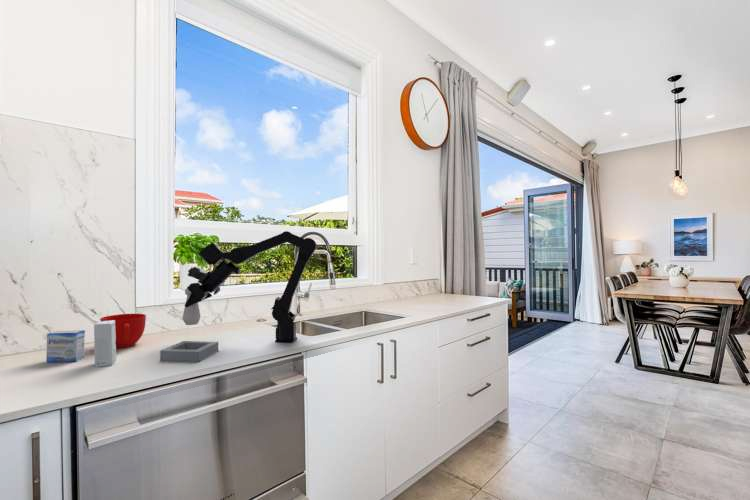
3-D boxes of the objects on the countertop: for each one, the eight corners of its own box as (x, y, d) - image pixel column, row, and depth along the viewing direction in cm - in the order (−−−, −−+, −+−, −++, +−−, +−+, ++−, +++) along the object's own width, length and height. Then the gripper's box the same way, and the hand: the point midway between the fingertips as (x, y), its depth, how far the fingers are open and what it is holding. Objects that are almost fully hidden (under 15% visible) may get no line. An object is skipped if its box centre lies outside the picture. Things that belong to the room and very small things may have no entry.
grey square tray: (218, 350, 123) (218, 341, 123) (199, 361, 111) (199, 351, 111) (183, 349, 124) (183, 340, 124) (160, 360, 112) (160, 350, 112)
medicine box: (45, 363, 109) (45, 333, 109) (55, 358, 113) (55, 330, 113) (76, 362, 110) (76, 332, 110) (85, 357, 114) (85, 329, 114)
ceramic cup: (102, 355, 116) (102, 323, 116) (99, 344, 130) (99, 316, 130) (150, 349, 125) (150, 319, 125) (143, 339, 138) (143, 312, 138)
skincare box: (112, 365, 107) (112, 323, 107) (93, 367, 105) (93, 324, 105) (116, 359, 112) (116, 319, 112) (98, 361, 110) (98, 320, 110)
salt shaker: (193, 326, 130) (193, 288, 130) (178, 325, 132) (178, 288, 132) (203, 322, 136) (203, 287, 136) (190, 322, 137) (190, 286, 137)
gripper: (211, 258, 144) (181, 287, 142) (193, 259, 125) (158, 293, 124) (232, 278, 144) (203, 307, 143) (217, 283, 126) (183, 316, 125)
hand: (187, 305), depth 134 cm, fingers closed on salt shaker, 3 cm apart
